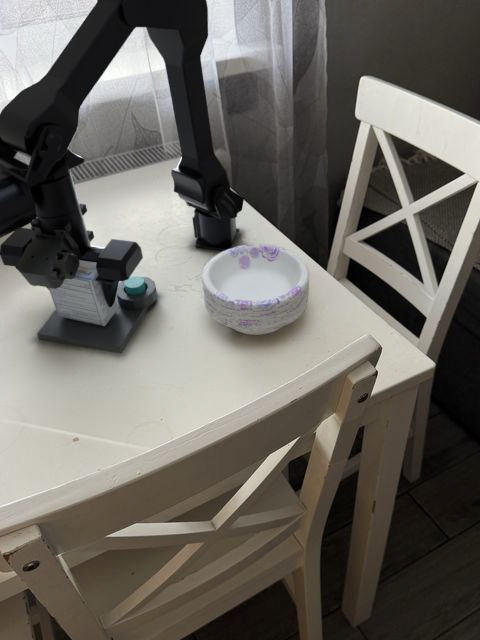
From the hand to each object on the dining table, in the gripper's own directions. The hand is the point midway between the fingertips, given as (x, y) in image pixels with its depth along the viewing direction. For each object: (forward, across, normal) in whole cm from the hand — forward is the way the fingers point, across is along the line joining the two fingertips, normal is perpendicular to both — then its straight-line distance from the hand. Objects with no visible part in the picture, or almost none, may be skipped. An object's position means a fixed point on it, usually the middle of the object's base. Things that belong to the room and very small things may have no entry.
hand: (85, 301), depth 87 cm
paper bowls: (+4, +24, +7) cm, 25 cm away
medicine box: (+2, 0, 0) cm, 2 cm away
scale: (+4, +1, +1) cm, 4 cm away
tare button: (+1, +5, +5) cm, 8 cm away
